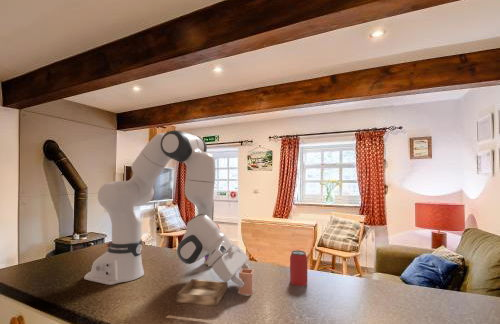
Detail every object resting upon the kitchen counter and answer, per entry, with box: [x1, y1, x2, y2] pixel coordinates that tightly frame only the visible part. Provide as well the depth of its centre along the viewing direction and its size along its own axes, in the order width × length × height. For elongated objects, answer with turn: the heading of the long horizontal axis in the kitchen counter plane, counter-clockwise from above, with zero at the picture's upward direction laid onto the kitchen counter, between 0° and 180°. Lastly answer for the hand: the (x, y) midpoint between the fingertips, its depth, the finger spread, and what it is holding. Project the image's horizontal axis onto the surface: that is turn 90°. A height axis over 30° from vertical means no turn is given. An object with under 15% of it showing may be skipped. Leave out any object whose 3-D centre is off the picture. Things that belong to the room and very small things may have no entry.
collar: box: [238, 268, 255, 296], centre depth 93 cm, size 5×5×7 cm
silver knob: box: [237, 288, 257, 297], centre depth 93 cm, size 6×6×6 cm
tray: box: [175, 278, 229, 307], centre depth 90 cm, size 14×13×3 cm
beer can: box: [289, 249, 308, 287], centre depth 101 cm, size 7×7×12 cm
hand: (247, 280), depth 93 cm, fingers open, 8 cm apart
